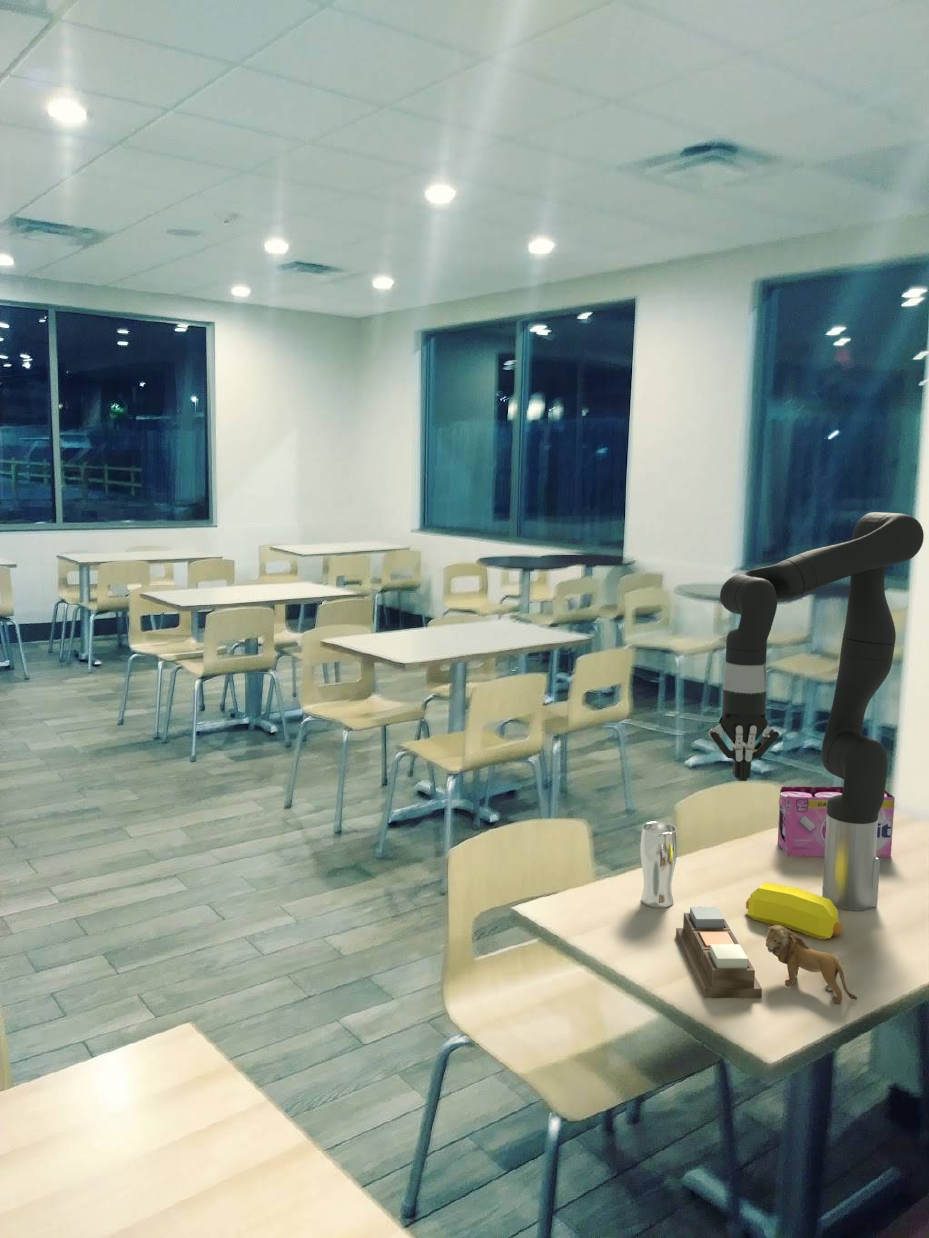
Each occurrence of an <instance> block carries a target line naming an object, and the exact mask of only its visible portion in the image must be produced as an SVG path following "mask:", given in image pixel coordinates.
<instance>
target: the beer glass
mask: <svg viewBox="0 0 929 1238" xmlns="http://www.w3.org/2000/svg"><path fill="white" fill-rule="evenodd" d="M640 833H641V834H640V835H641V836H640V845H639V847H640V848H639V849H640V851H639V852H640V853H639V855H640V862H641V868H642V875H643V889H642V894H641V902H642V903H643V904H644V905H646V906H648V907H651V908H655V909H656V908H657V909H662V908H663V909H664V908H668V907H671V906H672V905H673V904H674V897H673V890H672V888H673V885H672V883H673V876H674V872H675V868H676V863H677V857H678V835H677V826H675V825H674V824H672V823H669V822H664V821H649V822H645V823H643V824H642V826H641V832H640Z"/></svg>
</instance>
